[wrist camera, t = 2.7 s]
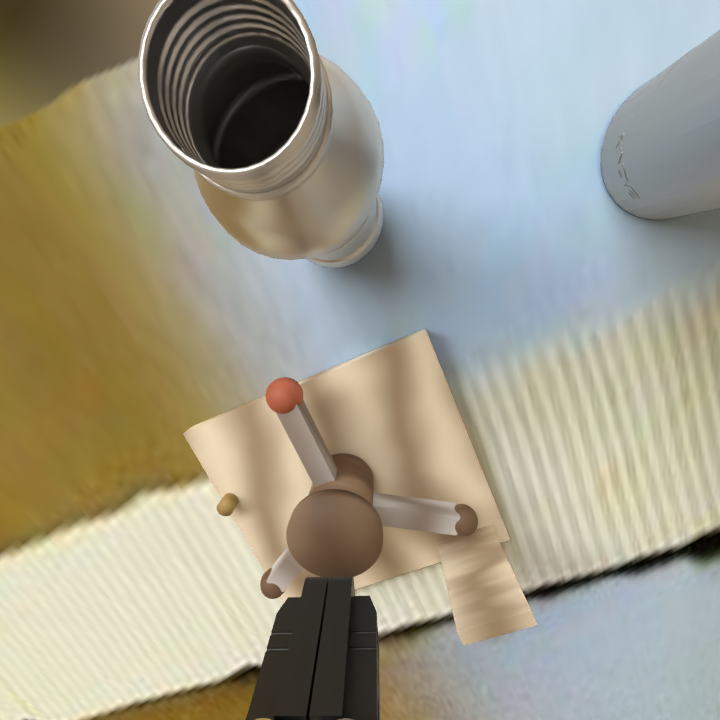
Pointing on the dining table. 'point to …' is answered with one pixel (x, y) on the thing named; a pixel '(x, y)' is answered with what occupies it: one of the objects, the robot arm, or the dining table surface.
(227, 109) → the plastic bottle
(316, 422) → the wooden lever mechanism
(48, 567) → the dining table surface
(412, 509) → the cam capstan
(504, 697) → the dining table surface
